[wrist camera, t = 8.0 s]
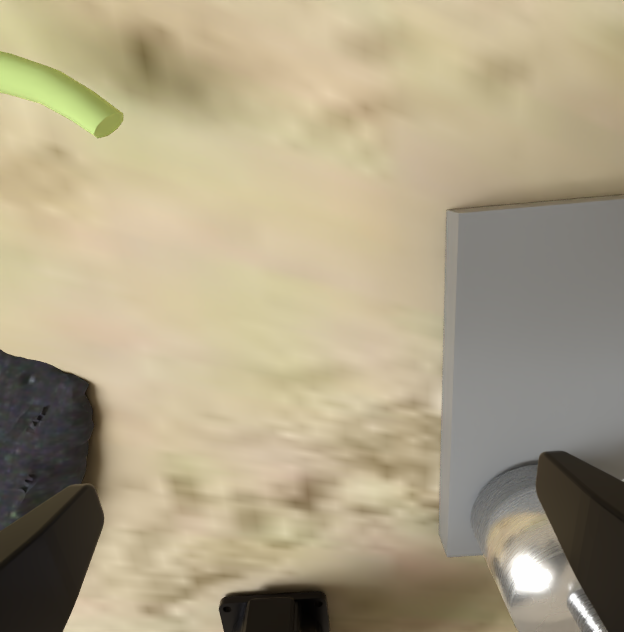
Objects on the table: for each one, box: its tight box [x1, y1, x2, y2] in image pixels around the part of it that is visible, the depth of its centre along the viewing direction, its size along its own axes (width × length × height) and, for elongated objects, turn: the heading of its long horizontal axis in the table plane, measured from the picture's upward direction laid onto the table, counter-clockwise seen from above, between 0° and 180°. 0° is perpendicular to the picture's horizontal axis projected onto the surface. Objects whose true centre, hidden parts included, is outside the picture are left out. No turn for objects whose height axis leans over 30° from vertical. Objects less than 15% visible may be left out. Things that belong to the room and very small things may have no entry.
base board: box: [439, 195, 624, 557], centre depth 19 cm, size 18×16×2 cm
